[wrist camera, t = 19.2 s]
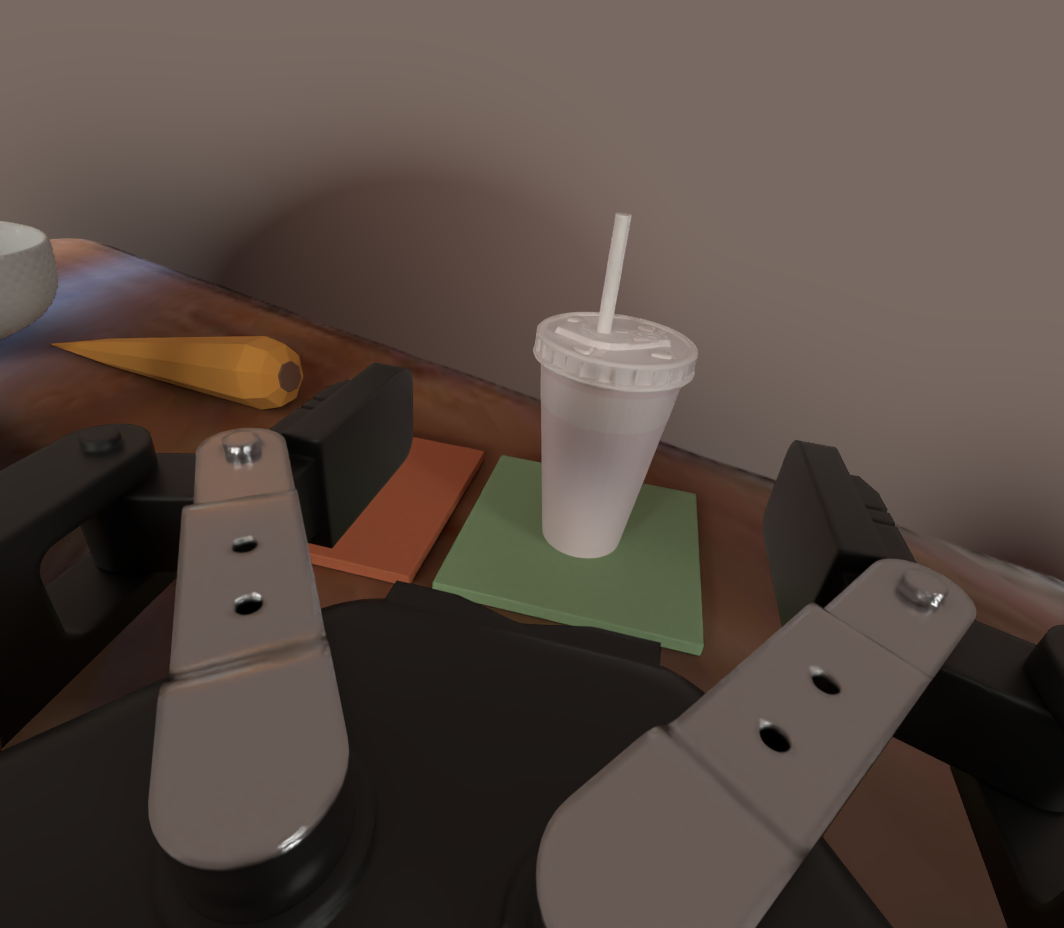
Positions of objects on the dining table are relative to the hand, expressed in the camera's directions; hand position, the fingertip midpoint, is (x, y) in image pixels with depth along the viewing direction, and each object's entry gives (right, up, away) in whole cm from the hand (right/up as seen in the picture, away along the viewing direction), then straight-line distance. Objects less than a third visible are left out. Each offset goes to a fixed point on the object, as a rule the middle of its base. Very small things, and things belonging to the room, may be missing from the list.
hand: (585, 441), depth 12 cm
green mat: (+1, -4, +15) cm, 16 cm away
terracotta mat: (-10, -2, +17) cm, 20 cm away
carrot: (-25, +5, +26) cm, 37 cm away
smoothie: (+1, -4, +15) cm, 16 cm away
